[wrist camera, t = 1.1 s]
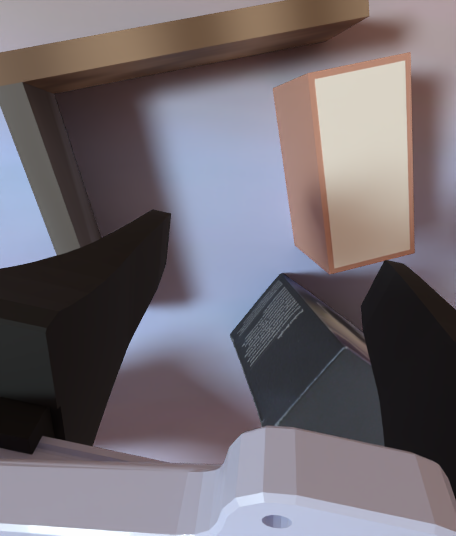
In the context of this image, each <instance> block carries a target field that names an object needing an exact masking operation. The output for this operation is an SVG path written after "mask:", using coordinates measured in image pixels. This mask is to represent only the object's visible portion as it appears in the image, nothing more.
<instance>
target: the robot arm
mask: <svg viewBox="0 0 456 536" xmlns="http://www.w3.org/2000/svg"><path fill="white" fill-rule="evenodd" d="M170 219H171V213H166V212H161V211H157V210H151V211H150V212H148V213H146V214H144V215H143V216H141V217H139V218H138V219H136V220H134V221H133V222H131V223H129V224H127V225H126V226H124V227H122V228H120V229H119V230H117V231H115V232H113V233H111V234H109V235H107V236H105V237H103V238H101V239H99V240H97V241H95V242H92V243H90V244H88V245H85V246H83V247H81V248H78V249H75V250H72V251H70V252H67V253H64V254H61V255H57V256H54V257H50V258H47V259H43V260H39V261H36V262H32V263H27V264H23V265H18V266H13V267H8V268H2V269H0V536H456V310H455V309H454V308H453V307H452V306H451V305H450V304H449V303H447V302H446V301H445V300H444V299H443V298H442V297H441V296H440V295H439V294H438V293H436V292H435V291H434V290H433V289H432V288H431V287H430V286H429V285H428V284H427V283H426V282H424V281H423V280H422V279H421V278H420V277H419V276H418V275H417V274H416V273H414V272H413V271H412V270H411V269H410V268H408V267H407V266H406V265H404V264H402V263H398V262H393V261H388V260H385V261H384V263H383V265H382V266H381V268H380V270H379V272H378V274H377V276H376V278H375V280H374V282H373V284H372V286H371V288H370V290H369V291H368V293H367V295H366V297H365V299H364V301H363V303H362V305H361V312H362V325H363V333H364V338H365V342H366V346H367V350H368V354H369V358H370V362H371V366H372V371H373V375H374V379H375V383H376V387H377V391H378V396H379V402H380V409H381V417H382V426H383V435H384V446H385V447H384V446H380V445H375V444H370V443H366V442H361V441H356V440H351V439H347V438H342V437H337V436H333V435H328V434H323V433H318V432H314V431H309V430H304V429H300V428H295V427H282V426H264V427H261V428H257V429H253V430H250V431H246V432H244V433H243V434H241V435H240V436H239V437H238V438H237V439H236V440H235V441H234V443H233V444H232V445H231V446H230V447H229V450H228V453H227V456H226V458H225V461H224V463H223V464H190V463H169V462H164V461H159V460H155V459H150V458H145V457H140V456H136V455H131V454H126V453H121V452H117V451H112V450H107V449H102V448H98V447H93V443H94V440H95V437H96V434H97V431H98V428H99V425H100V422H101V419H102V416H103V413H104V410H105V407H106V405H107V402H108V399H109V396H110V393H111V391H112V388H113V385H114V382H115V380H116V377H117V374H118V371H119V369H120V366H121V363H122V361H123V358H124V356H125V353H126V350H127V348H128V346H129V343H130V341H131V339H132V337H133V335H134V333H135V331H136V329H137V327H138V325H139V323H140V321H141V319H142V317H143V315H144V314H145V312H146V310H147V308H148V306H149V304H150V302H151V300H152V298H153V296H154V294H155V292H156V290H157V288H158V285H159V283H160V280H161V277H162V274H163V271H164V268H165V265H166V259H167V249H168V239H169V229H170Z"/></svg>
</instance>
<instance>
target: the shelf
mask: <svg viewBox="0 0 456 536" xmlns="http://www.w3.org/2000/svg"><path fill="white" fill-rule="evenodd" d="M367 17H369V1H368V0H285V1H280V2H274V3H269V4H263V5H258V6H252V7H247V8H241V9H236V10H230V11H225V12H219V13H214V14H208V15H203V16H198V17H192V18H187V19H181V20H176V21H170V22H165V23H159V24H154V25H148V26H143V27H137V28H132V29H126V30H121V31H115V32H110V33H105V34H99V35H94V36H88V37H83V38H77V39H72V40H66V41H61V42H55V43H50V44H44V45H39V46H33V47H28V48H23V49H17V50H12V51H6V52H1V53H0V106H1V109H2V112H3V114H4V117H5V119H6V122H7V125H8V127H9V130H10V133H11V135H12V138H13V141H14V143H15V146H16V149H17V151H18V154H19V156H20V159H21V162H22V164H23V167H24V170H25V172H26V175H27V178H28V180H29V183H30V185H31V188H32V191H33V193H34V196H35V199H36V201H37V204H38V207H39V209H40V212H41V215H42V217H43V220H44V222H45V225H46V228H47V230H48V233H49V236H50V238H51V241H52V244H53V246H54V249H55V251H56V254H57V255H61V254H64V253H67V252H70V251H72V250H75V249H78V248H81V247H83V246H85V245H88V244H90V243H92V242H95V241H97V240H99V239H101V236H100V233H99V230H98V227H97V224H96V221H95V218H94V215H93V212H92V209H91V205H90V202H89V199H88V196H87V193H86V190H85V187H84V184H83V181H82V178H81V175H80V172H79V169H78V166H77V163H76V160H75V157H74V154H73V151H72V148H71V145H70V141H69V138H68V135H67V132H66V129H65V126H64V123H63V120H62V117H61V114H60V111H59V108H58V105H57V102H56V99H55V96H54V94H56V93H61V92H66V91H71V90H76V89H82V88H87V87H92V86H97V85H102V84H107V83H113V82H118V81H123V80H128V79H133V78H138V77H143V76H149V75H154V74H159V73H164V72H169V71H174V70H180V69H185V68H190V67H195V66H200V65H205V64H211V63H216V62H221V61H226V60H231V59H236V58H241V57H247V56H252V55H257V54H262V53H267V52H272V51H278V50H283V49H288V48H293V47H298V46H303V45H309V44H314V43H319V42H324V41H327V40H329V39H330V38H332V37H334V36H336V35H337V34H339V33H341V32H343V31H344V30H346V29H348V28H350V27H351V26H353V25H355V24H356V23H358V22H360V21H362V20H363V19H365V18H367Z"/></svg>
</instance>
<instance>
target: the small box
mask: <svg viewBox="0 0 456 536" xmlns="http://www.w3.org/2000/svg"><path fill="white" fill-rule="evenodd" d="M230 337H231V340H232V342H233V344H234V347H235V349H236V352H237V355H238V358H239V360H240V363H241V366H242V369H243V371H244V374H245V377H246V380H247V383H248V386H249V389H250V391H251V394H252V396H253V400H254V402H255V406H256V409H257V411H258V415H259V419H260V422H261V426H262V427H264V426H282V427H295V428H300V429H304V430H309V431H314V432H318V433H323V434H328V435H333V436H337V437H342V438H347V439H351V440H356V441H361V442H366V443H370V444H375V445H380V446H384V435H383V426H382V417H381V409H380V402H379V396H378V391H377V387H376V383H375V379H374V375H373V371H372V366H371V362H370V358H369V354H368V350H367V346H366V342H365V338H364V333H363V332H362V331H361V330H360V329H358V328H357V327H356V326H354V325H353V324H352V323H350V322H349V321H348V320H346V319H345V318H344V317H343V316H341V315H340V314H339V313H337V312H336V311H334V310H333V309H332V308H330V307H329V306H328V305H326V304H325V303H324V302H322V301H321V300H320V299H318V298H317V297H315V296H314V295H313V294H311V293H310V292H309V291H307V290H306V289H304V288H303V287H302V286H300V285H299V284H297V283H296V282H294V281H293V280H292V279H290V278H289V277H287V276H286V275H284V274H282V273H281V274H280V275H279V276H278V277H277V278H276V279H275V280H274V281H273V283H272V284H271V285H270V286H269V287H268V289H267V290H266V291H265V292H264V294H263V295H262V296H261V297H260V298H259V300H258V301H257V302H256V303H255V304H254V306H253V307H252V308H251V309H250V311H249V312H248V313H247V314H246V315H245V317H244V318H243V319H242V320H241V321H240V323H239V324H238V325H237V326H236V328H235V329H234V330H233V331H232V333H231V334H230ZM384 447H385V446H384Z"/></svg>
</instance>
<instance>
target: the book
mask: <svg viewBox="0 0 456 536" xmlns="http://www.w3.org/2000/svg"><path fill="white" fill-rule="evenodd" d="M273 94H274V101H275V109H276V116H277V123H278V130H279V137H280V144H281V151H282V158H283V165H284V172H285V180H286V187H287V194H288V201H289V208H290V215H291V222H292V229H293V236H294V243H295V246H296V247H297V248H299V249H300V250H301V251H302V252H303V253H305V254H306V255H307V256H308V257H309V258H310V259H312V260H313V261H314V262H315V263H316V264H318V265H319V266H320V267H321V268H322V269H324V270H325V271H326V272H327V273H328V274H334V273H338V272H342V271H346V270H350V269H353V268H357V267H361V266H365V265H369V264H373V263H377V262H381V261H385V260H389V259H393V258H397V257H401V256H405V255H409V254H413V253H415V247H414V199H413V151H412V103H411V55H410V52H409V53H404V54H399V55H394V56H389V57H384V58H380V59H375V60H370V61H365V62H360V63H355V64H350V65H346V66H341V67H336V68H331V69H326V70H321V71H317V72H312V73H307V74H305V75H303V76H300V77H298V78H296V79H293V80H291V81H289V82H286V83H284V84H282V85H279V86H277V87H275V88H273Z"/></svg>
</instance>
